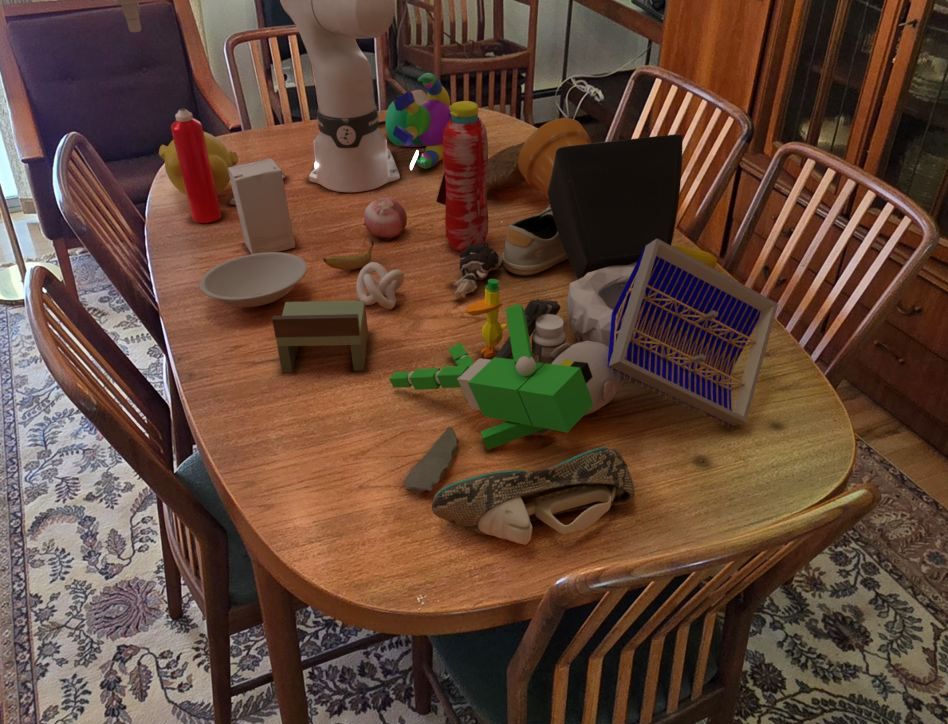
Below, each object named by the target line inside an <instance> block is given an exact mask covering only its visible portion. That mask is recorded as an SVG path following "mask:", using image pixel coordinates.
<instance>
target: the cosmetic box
mask: <svg viewBox="0 0 948 724" xmlns="http://www.w3.org/2000/svg"><path fill="white" fill-rule="evenodd" d="M228 172H229V177H230V181H229V182H230V185H231V189H232V194H233V196H234V198H235V202H236V205H235V207H236V210H237V215H238V218H239V223H240V227H241V232H242V235H243V236H242V237H243V241H244V244H245V246H246V247H247V249H248V251H249V252H250V254H256V253H265V252H282V251H286V250H291V249H294V248H296V242H295V236H294V231H293V227H292V219H291V215H290V210H289V204H288V199H287V198H288V197H287V194H286V188H285V184H284V182H285V181H284V179H283V177H282V172H283V170H282V169H281V167H280V166H279V165H278V164H277V163H276V162H275V160H274V159H273V158H272V157H270V158H265V159H262V160H258V161H252V162H248V163H244V164H240V165H234V166H232V167H229V168H228Z"/></svg>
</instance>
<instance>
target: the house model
mask: <svg viewBox="0 0 948 724" xmlns="http://www.w3.org/2000/svg"><path fill="white" fill-rule="evenodd" d="M778 307H779V303H778V302H776V301H775V300H773V299H770V298H768V297H767V296H765V295H763V294H762V293H760V292H758V291H755V290H753V289H752V288H750V287H748V286H746V285H744V284H742V283H741V282H739V281H738V280H736V279H734V278H731V277H730V276H728V275H726V274H724V273H723V272H720V271H718V270H717V269H715V268H711V267H709V266H707V265H706V264H704V263H702V262H700V261H698V260H696V259H694V258H693V257H691V256H689V255H687V254H685V253H683V252H681V251H680V250H678V249H676V248H674V247H672V246H670V245H668V244H667V243H665V242H663V241H661V240H659V239H655V240H654V241H652V242H651V243H649V244H648V245H646V247H644V249H643V251H642V253H641V255H640V257H639V259H638V261H637V263H636V265H635V267H634V269H633V271H632V273H631V276H630V278H629V280H628V282H627V284H626V286H625V288H624V290H623V292H622V294H621V296H620V298H619V300H618V302H617V304H616V306H615V308H614V310H613V312H612V318H611V329H610V341H609V353H608V365H607V367H609V368H611V369H612V371H613V369H614V370H616V371H618V374H619V372H620V373H622V374H623V378H625V377H629V381H631V380H632V379H633V380H634V381H635V384H637V382H639V383H641V386H643V385H645V386H647V389H649V387H650V388H651V389H653V391H652V393H655V391H658V395H659V396H661V393H662V394H664V399H667V396H668V397H670V402H673V401H672V400H673V399H675V400H676V404H678V402H681V403H682V406H684V405H687V407H688V408H687V409H688V410H690V407H691V408H693V412H694V413H695V411H696V410H698V411H699V414H702V413H704V417H705V418H706V417H707V415H708V416H710V420H712V419H713V418H714V419H716V422H718V420H719V421H721V426H723V425H724V423H725V424H727V427H729V426H731V427H732V426H737V425H741V424H746V423H747V421H748V418H749V414H750V410H751V405H752V404H753V403H752V402H753V399H754V395H755V391H756V387H757V384H758V380H759V376H760V373H761V369H762V366H763V362H764V358H765V354H766V351H767V347H768V344H769V340H770V336H771V333H772V328H773V325H774V321H775V318H776V314H777V310H778ZM754 329H755V331H754ZM753 331H754V335H753V338H752V337H751V335H752V333H753ZM749 346H750V349H749V352H748V356H747V359H746V363H745V367H744V370H743V376H742V378H741V380H739V379H737V378H736V377H733V376H732V375H733V372H734V368H735V366H736V363H737V361H738V359H739V358H740V356H741V354H742V352H743V351H744V348H746V347H749ZM731 380H732V381H735V382H732V381H731ZM732 385H733V386H732ZM736 388H739V389H738V392H737V396H736V400H735V403H734V407H733V410H732V390H734V389H736ZM701 412H702V413H701Z"/></svg>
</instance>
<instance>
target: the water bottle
mask: <svg viewBox="0 0 948 724" xmlns="http://www.w3.org/2000/svg"><path fill="white" fill-rule="evenodd" d="M450 110H451V112H450V114H451V115H452V117H451V118H450V120H449V122H448V123H447V125H446V127H445V129H444V131H443V158H442V165H443V176H442V178H441V183H440V185H439V186H440V187H439V190H438V194H437V198H436V200H435V201H436V203H438V204H441V205H444V206H445V212H444V213H445V215H444V227H445V237H446V239H447V242H448V244H449V245H450V247H451V248H452V250H454V251H456V252H459V253H461V252H462V251H464V250H465V249H467V247H468V246H469V245H471V244H478V243H481V242H482V243H486V240H487V237H488V234H489V209H488V196H487V192H486V177H487V166H488V159H489V140H488V131H487V128H486V125H485V124H484V123H483V121H482V118H481V117H479V104H477V103H476V102H475V101H470V100H461V101H455V102H454V103H452V104H451V105H450Z"/></svg>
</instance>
